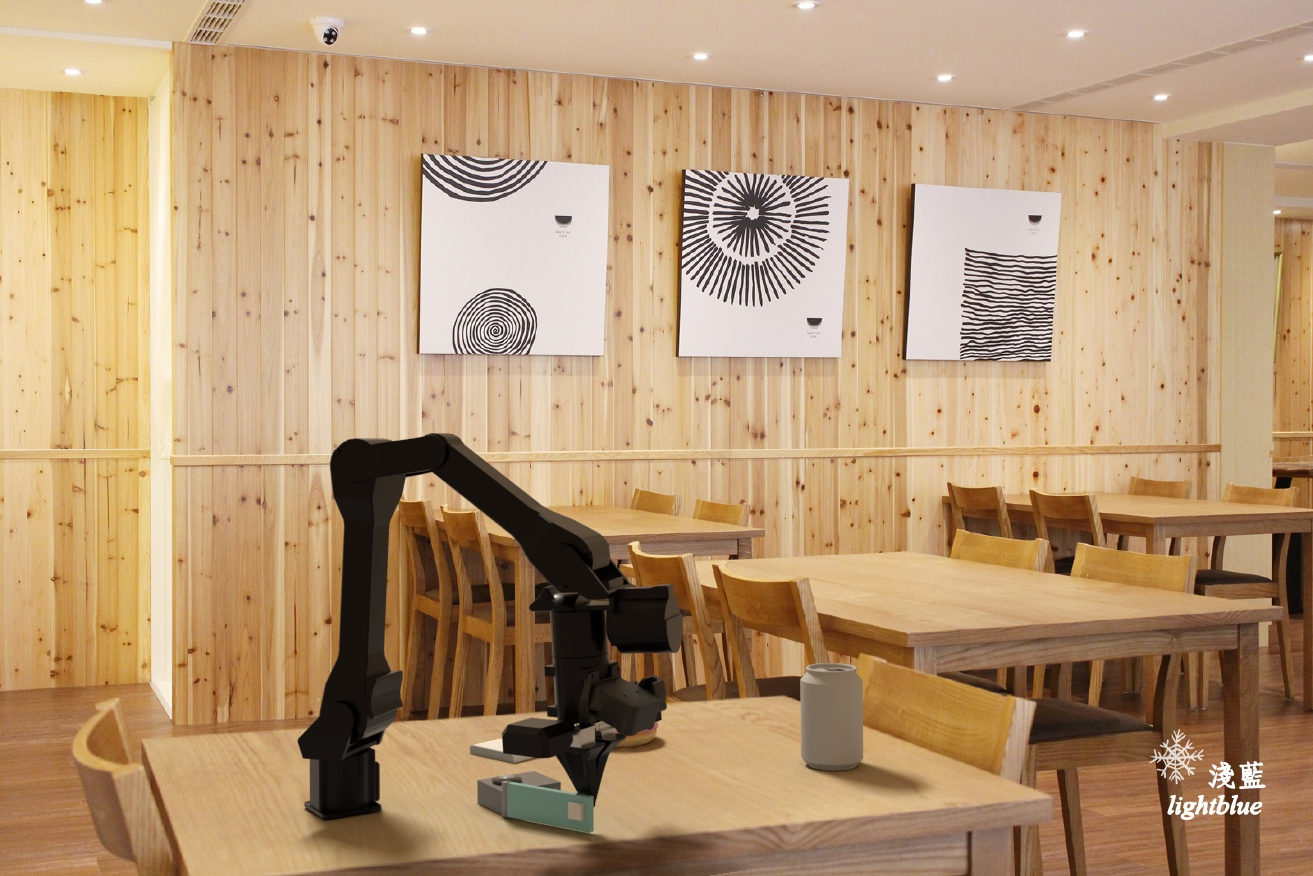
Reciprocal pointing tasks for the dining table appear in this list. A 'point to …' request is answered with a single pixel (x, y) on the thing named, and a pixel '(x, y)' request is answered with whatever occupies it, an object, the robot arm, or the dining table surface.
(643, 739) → the doughnut
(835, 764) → the can
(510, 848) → the dining table surface
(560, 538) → the robot arm
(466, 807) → the dining table surface
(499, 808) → the camera body
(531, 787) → the side door
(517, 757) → the external hard drive
